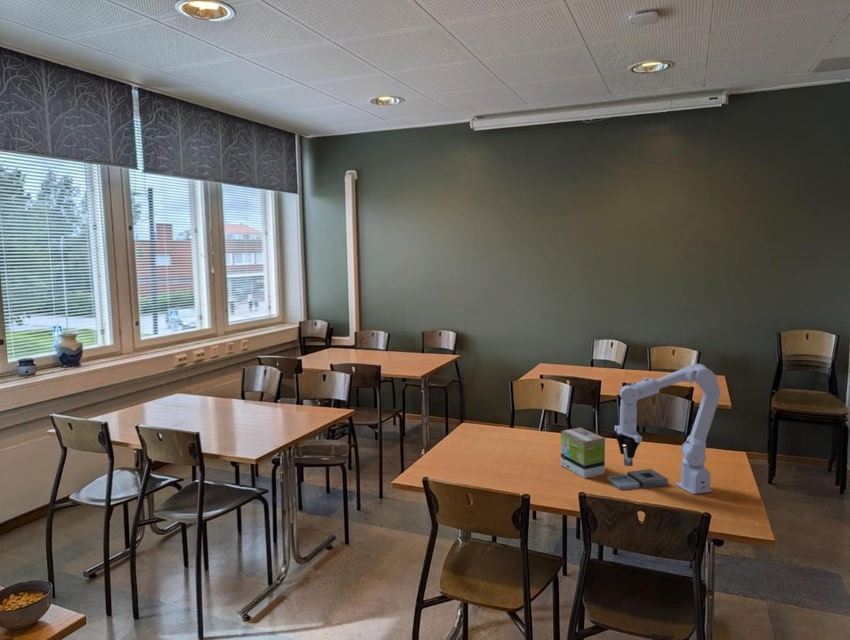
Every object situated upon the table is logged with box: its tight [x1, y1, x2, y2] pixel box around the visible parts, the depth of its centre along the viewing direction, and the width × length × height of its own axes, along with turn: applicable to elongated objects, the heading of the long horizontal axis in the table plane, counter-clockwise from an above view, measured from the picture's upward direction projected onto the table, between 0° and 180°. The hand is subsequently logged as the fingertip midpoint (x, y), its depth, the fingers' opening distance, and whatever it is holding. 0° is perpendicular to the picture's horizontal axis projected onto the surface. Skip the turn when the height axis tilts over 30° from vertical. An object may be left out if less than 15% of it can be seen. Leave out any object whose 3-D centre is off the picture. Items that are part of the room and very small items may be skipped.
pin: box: [622, 442, 634, 467], centre depth 212 cm, size 4×4×8 cm
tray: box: [606, 474, 641, 491], centre depth 213 cm, size 9×8×2 cm
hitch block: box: [626, 468, 669, 489], centre depth 215 cm, size 10×10×2 cm
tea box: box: [560, 427, 606, 479], centre depth 227 cm, size 15×10×15 cm
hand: (627, 455), depth 212 cm, fingers closed on pin, 4 cm apart
